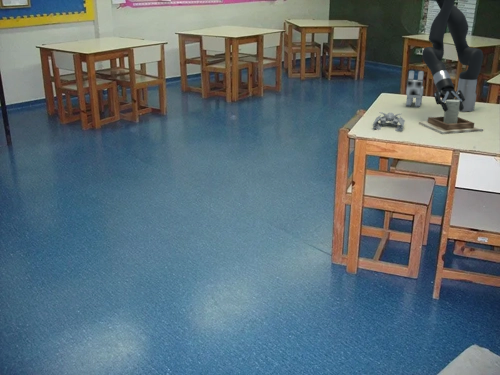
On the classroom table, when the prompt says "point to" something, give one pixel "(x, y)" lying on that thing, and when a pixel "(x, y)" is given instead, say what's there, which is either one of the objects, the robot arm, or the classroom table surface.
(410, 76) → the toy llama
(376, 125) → the spaceship toy
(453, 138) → the classroom table surface
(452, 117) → the skincare box
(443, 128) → the holder
